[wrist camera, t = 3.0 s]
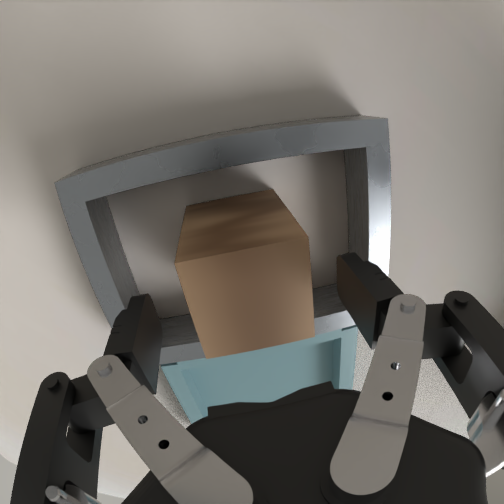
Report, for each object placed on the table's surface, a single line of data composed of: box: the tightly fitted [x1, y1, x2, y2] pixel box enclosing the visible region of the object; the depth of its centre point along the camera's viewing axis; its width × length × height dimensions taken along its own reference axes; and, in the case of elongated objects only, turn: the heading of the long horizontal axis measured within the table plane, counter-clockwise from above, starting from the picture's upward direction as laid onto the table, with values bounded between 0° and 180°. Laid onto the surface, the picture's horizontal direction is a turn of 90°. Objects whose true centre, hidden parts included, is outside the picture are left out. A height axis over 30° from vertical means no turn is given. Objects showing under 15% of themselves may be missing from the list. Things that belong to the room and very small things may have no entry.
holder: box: [55, 115, 391, 365], centre depth 17 cm, size 17×12×3 cm
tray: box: [161, 325, 358, 424], centre depth 23 cm, size 13×13×2 cm
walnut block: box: [174, 189, 315, 359], centre depth 16 cm, size 5×5×7 cm
